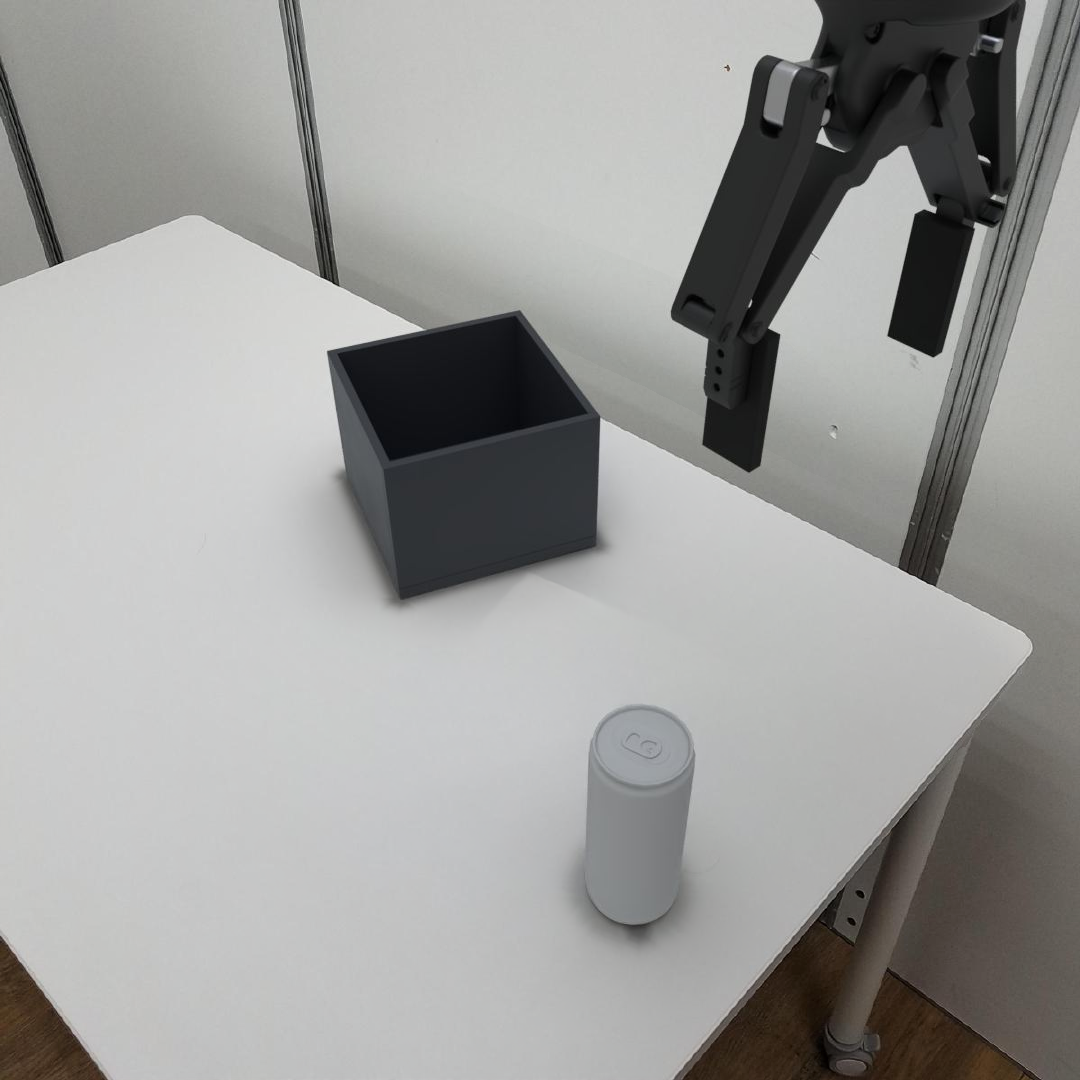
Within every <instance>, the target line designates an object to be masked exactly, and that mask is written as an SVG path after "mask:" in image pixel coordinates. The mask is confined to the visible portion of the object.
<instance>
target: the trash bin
mask: <svg viewBox="0 0 1080 1080" xmlns="http://www.w3.org/2000/svg"><path fill="white" fill-rule="evenodd" d="M529 321H530V320H528V319H527V318H526V316H525V315H524V313H523V312H522V310H520V309H518V310H514V311H509V312H504V313H499V314H494V315H490V316H485V317H480V318H476V319H471V320H465V321H462V322H457V323H452V324H448V325H447V324H446V325H443V326H438V327H432V328H429V329H423V330H419V331H414V332H410V333H405V334H399V335H395V336H391V337H385V338H381V339H376V340H371V341H367V342H362V343H356V344H352V345H348V346H343V347H338V348H334V349H329V350H327V351H326V355H327V362H328V368H329V369H328V370H329V374H330V381H331V386H332V393H333V398H334V399H333V400H334V407H335V412H336V419H337V424H338V430H339V437H340V444H341V449H342V450H341V451H342V456H343V464H344V468H345V476H346V478H347V480H348V483H349V485H350V488H351V489H352V492H353V495H354V496H355V499H356V502H357V504H358V506H359V508H360V511H361V513H362V515H363V518H364V520H365V522H366V524H367V527H368V529H369V532H370V533H371V536H372V538H373V541H374V543H375V545H376V547H377V549H378V552H379V554H380V557H381V559H382V561H383V563H384V567H385V568H386V571H387V573H388V576H389V577H390V580H391V582H392V583H393V584H392V585H393V586H394V589H395V591H396V594H397V596H398V598H399V600H405V599H408V598H411V597H415V596H419V595H422V594H427V593H430V592H433V591H437V590H440V589H443V588H447V587H451V586H452V587H453V586H455V585H458V584H462V583H466V582H469V581H473V580H476V579H480V578H483V577H488V576H491V575H495V574H498V573H502V572H505V571H506V572H507V571H509V570H512V569H516V568H519V567H524V566H527V565H530V564H534V563H537V562H541V561H545V560H548V559H552V558H556V557H558V556H563V555H567V554H570V553H573V552H574V553H575V552H577V551H581V550H584V549H588V548H592V547H595V546H597V534H598V507H599V506H598V505H599V503H598V502H599V501H598V500H599V476H600V475H599V473H600V446H601V445H600V444H601V443H600V441H601V415H600V413H599V412H598V411H597V410H596V409H595V407H594V406H593V404H592V403H591V402H590V401H589V400H588V398H587V397H586V395H585V394H584V392H583V391H582V389H581V388H579V386H578V384H577V383H576V382H575V380H574V379H573V378H572V377H571V375H570V374H569V372H568V371H567V369H565V367H564V366H563V364H562V363H561V362H560V361H559V360H558V358H557V357H556V356H555V354H554V353H553V352H552V350H551V349H550V348H549V347H548V345H547V344H546V342H545V341H544V340H543V338H542V337H541V336H540V335H539V333H538V332H537V331H536V329H535V328H534V326H533V325H532V324H531V323H530V322H529Z"/></svg>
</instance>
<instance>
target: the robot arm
mask: <svg viewBox="0 0 1080 1080" xmlns="http://www.w3.org/2000/svg"><path fill="white" fill-rule="evenodd" d="M813 1H814V3H815V4H816V5H817V8H818V9H819V11H820V14H821V17H822V23H821V28H820V32H819V36H818V38H817V41H816V44H815V47H814V48H813V51H812V53H811V56H810V58H809V59H806V60H801V61H796V62H795V61H794V62H793V61H790V60H786V59H784V58H780V57H777V56H775V55H771V54H770V55H769V54H766V55H763V56H762V57H761V58H760V59H759V60H758V61H757V63H756V64H755V66H754V69H753V72H752V75H751V76H752V77H751V80H750V87H749V93H748V98H747V104H746V108H745V114H744V115H745V116H744V120H743V125H742V127H741V130H740V131H739V135H738V137H737V140H736V142H735V145H734V147H733V151H732V153H731V155H730V157H729V160H728V163H727V165H726V168H725V171H724V172H723V175H722V178H721V180H720V183H719V185H718V188H717V190H716V193H715V196H714V198H713V201H712V204H711V206H710V209H709V211H708V214H707V216H706V219H705V221H704V223H703V226H702V229H701V231H700V234H699V237H698V239H697V241H696V244H695V246H694V249H693V252H692V254H691V257H690V260H689V262H688V265H687V267H686V269H685V272H684V274H683V277H682V280H681V282H680V284H679V287H678V290H677V292H676V294H675V297H674V301H672V302H673V303H672V305H671V308H670V318H671V320H672V322H675V323H676V324H679V325H681V326H683V328H687V329H688V330H690V331H692V332H693V333H695V334H697V335H699V336H701V337H703V338H705V339H707V347H706V355H705V356H706V357H705V368H704V377H703V385H702V388H703V392H704V395H705V397H707V398H706V403H705V404H706V406H705V413H704V424H703V433H702V444H701V445H702V447H703V446H704V448H706V449H707V450H710V451H711V452H713V453H715V454H717V455H718V456H720V457H721V458H723V459H725V460H726V461H727V462H730V463H731V464H733V465H734V466H736V467H738V468H740V469H741V470H743V471H745V472H746V473H748V474H750V473H751V472H753V471H755V470H756V469H758V468H760V467H761V466H762V458H763V453H764V447H765V446H764V445H765V440H766V432H767V427H768V419H769V413H770V406H771V399H772V393H773V386H774V380H775V373H776V366H777V360H778V354H779V347H780V340H781V333H779V332H777V331H775V330H773V329H770V328H769V327H770V325H771V324H772V322H773V321H774V319H775V317H776V316H777V313H778V312H779V310H780V308H781V306H782V305H783V304H784V301H785V300H786V298H787V297H788V295H789V293H790V291H791V289H792V288H793V287H794V284H795V282H796V281H797V280H798V277H799V276H800V275H801V272H802V270H803V269H804V268H805V265H806V264H807V262H808V261H809V258H810V257H811V255H812V253H813V252H814V250H815V248H816V246H817V245H818V243H819V241H820V239H821V237H822V236H823V235H824V232H825V231H826V229H827V227H828V226H829V224H830V222H831V221H832V219H833V218H834V215H835V214H836V212H837V210H838V208H839V207H840V205H841V203H842V202H843V200H844V198H845V196H846V194H847V193H848V192H849V191H850V190H851V189H854V188H858V187H861V186H862V185H864V184H865V183H867V181H868V179H869V178H870V176H871V174H872V173H873V171H874V169H875V168H876V166H877V164H878V162H879V161H881V160H883V159H885V158H887V157H889V156H890V155H891V154H892V153H893V152H895V150H898V148H899V147H906V148H907V149H908V152H909V154H910V157H911V160H912V162H913V165H914V167H915V170H916V173H917V175H918V178H919V180H920V183H921V186H922V188H923V191H924V193H925V196H926V198H927V201H928V203H929V205H930V206H931V207H934V208H935V209H936V210H935V212H933V211H931V210H927V209H925V208H923V209H922V210H920V211H918V212H916V213H914V216H913V220H912V224H911V229H910V234H909V238H908V240H907V241H908V242H907V247H906V251H905V254H904V259H903V264H902V267H901V268H902V269H901V273H900V278H899V281H898V286H897V290H896V294H895V299H894V304H893V309H892V312H891V317H890V322H889V324H888V325H889V326H888V329H887V335H886V337H887V338H890V339H891V340H894V341H896V342H898V343H900V344H902V345H905V346H907V347H910V348H911V349H913V350H916V351H917V352H920V353H922V354H924V355H926V356H928V357H930V358H933V359H934V358H935V357H937V356H940V354H942V353H943V352H944V347H945V344H946V339H947V336H948V333H949V329H950V325H951V321H952V317H953V314H954V310H955V307H956V302H957V298H958V294H959V291H960V287H961V285H962V284H961V283H962V279H963V276H964V273H965V269H966V265H967V262H968V261H967V260H968V257H969V253H970V250H971V246H972V242H973V240H974V239H973V238H974V235H975V231H976V228H975V223H976V224H979V225H981V226H985V227H987V228H989V229H994V228H996V227H997V226H998V225H999V224H1000V223H1001V221H1002V219H1003V217H1004V215H1005V212H1006V209H1007V205H1006V204H1007V203H1004V202H1001V201H999V200H996V199H993V197H994V196H997V197H1000V198H1005V197H1007V196H1008V195H1009V194H1010V192H1011V191H1012V190H1013V188H1014V186H1015V183H1016V179H1017V54H1018V53H1017V51H1018V46H1019V40H1020V36H1021V32H1022V26H1023V22H1024V17H1025V12H1026V7H1027V1H1026V0H813ZM822 129H823V133H824V135H825V138H826V139H827V141H828V143H829V144H830V145H831V146H832V147H830V146H827V145H826V144H825V145H824V144H822V143H819V142H817V141H818V138H819V134H820V133H821V131H822ZM979 156H980V157H983V158H985V159H987V161H986V160H982V159H980V158H979ZM988 161H989V162H988Z"/></svg>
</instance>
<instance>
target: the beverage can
mask: <svg viewBox="0 0 1080 1080" xmlns="http://www.w3.org/2000/svg"><path fill="white" fill-rule="evenodd" d="M592 734H593V735H592V737H591V739H590V743H589V749H588V761H587V792H586V795H587V796H586V820H585V821H586V822H585V823H586V824H585V854H584V855H585V858H584V859H585V863H584V882H585V887H586V891H587V893H588V896H589V898H590V900H591V901H592V903H593V904H594V905H595V907H596V908H597V910H598V911H600V913H602V914H603V915H604V916H605V917H606V918H608V919H610V920H611V921H614V922H617V923H619V924H625V925H632V926H633V925H635V926H636V925H644V924H648V923H651V922H654V921H656V920H657V919H659V918H660V917H661V918H662V916H664V915H665V914H666V913H667V912H668V911H669V910H670V909H671V907H672V906H673V905H674V903H675V900H676V898H677V896H678V891H679V883H680V878H681V877H680V875H681V870H682V861H683V855H684V847H685V841H686V833H687V831H686V830H687V825H688V817H689V810H690V804H691V797H692V789H693V782H694V775H695V773H694V772H695V767H696V751H695V742H694V739H693V735H692V733H691V731H690V729H689V728H688V726H687V724H686V723H685V722H684V721H683V720H681V718H680V717H679V716H677V715H676V714H675V713H673V712H671V711H669V710H667V709H666V708H662V707H659V706H657V705H654V704H645V703H644V704H643V703H636V704H628V705H624V706H621V707H618V708H617V707H616V708H615V709H613V710H612V711H610V712H609V713H607V714H606V715H604V717H603V718H602V719H601V720H599V722H598V723H597V725H596V727H595V729H594V730H593V733H592Z"/></svg>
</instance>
